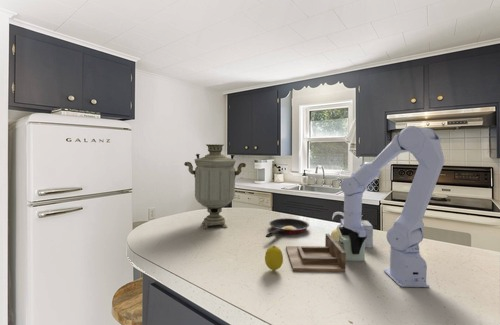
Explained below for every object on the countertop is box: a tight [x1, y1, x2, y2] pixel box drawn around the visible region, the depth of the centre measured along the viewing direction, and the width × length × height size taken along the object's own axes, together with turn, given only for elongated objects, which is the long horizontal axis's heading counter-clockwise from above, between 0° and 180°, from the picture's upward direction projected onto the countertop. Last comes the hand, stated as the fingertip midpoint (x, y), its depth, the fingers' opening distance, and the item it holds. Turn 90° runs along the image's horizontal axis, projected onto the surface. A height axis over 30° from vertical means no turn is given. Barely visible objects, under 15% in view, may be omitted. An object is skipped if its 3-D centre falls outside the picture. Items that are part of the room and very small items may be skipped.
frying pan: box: [265, 217, 310, 238], centre depth 115 cm, size 19×32×4 cm, turn 149°
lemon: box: [264, 245, 284, 272], centre depth 79 cm, size 6×6×8 cm
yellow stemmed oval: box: [330, 211, 344, 243], centre depth 106 cm, size 6×5×12 cm
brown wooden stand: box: [285, 233, 347, 273], centre depth 88 cm, size 18×16×6 cm
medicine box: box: [361, 219, 374, 249], centre depth 102 cm, size 8×4×9 cm, turn 168°
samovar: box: [184, 143, 247, 230], centre depth 128 cm, size 30×26×40 cm
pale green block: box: [338, 235, 366, 262], centre depth 89 cm, size 5×8×7 cm, turn 90°
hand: (351, 250), depth 89 cm, fingers closed on pale green block, 5 cm apart
